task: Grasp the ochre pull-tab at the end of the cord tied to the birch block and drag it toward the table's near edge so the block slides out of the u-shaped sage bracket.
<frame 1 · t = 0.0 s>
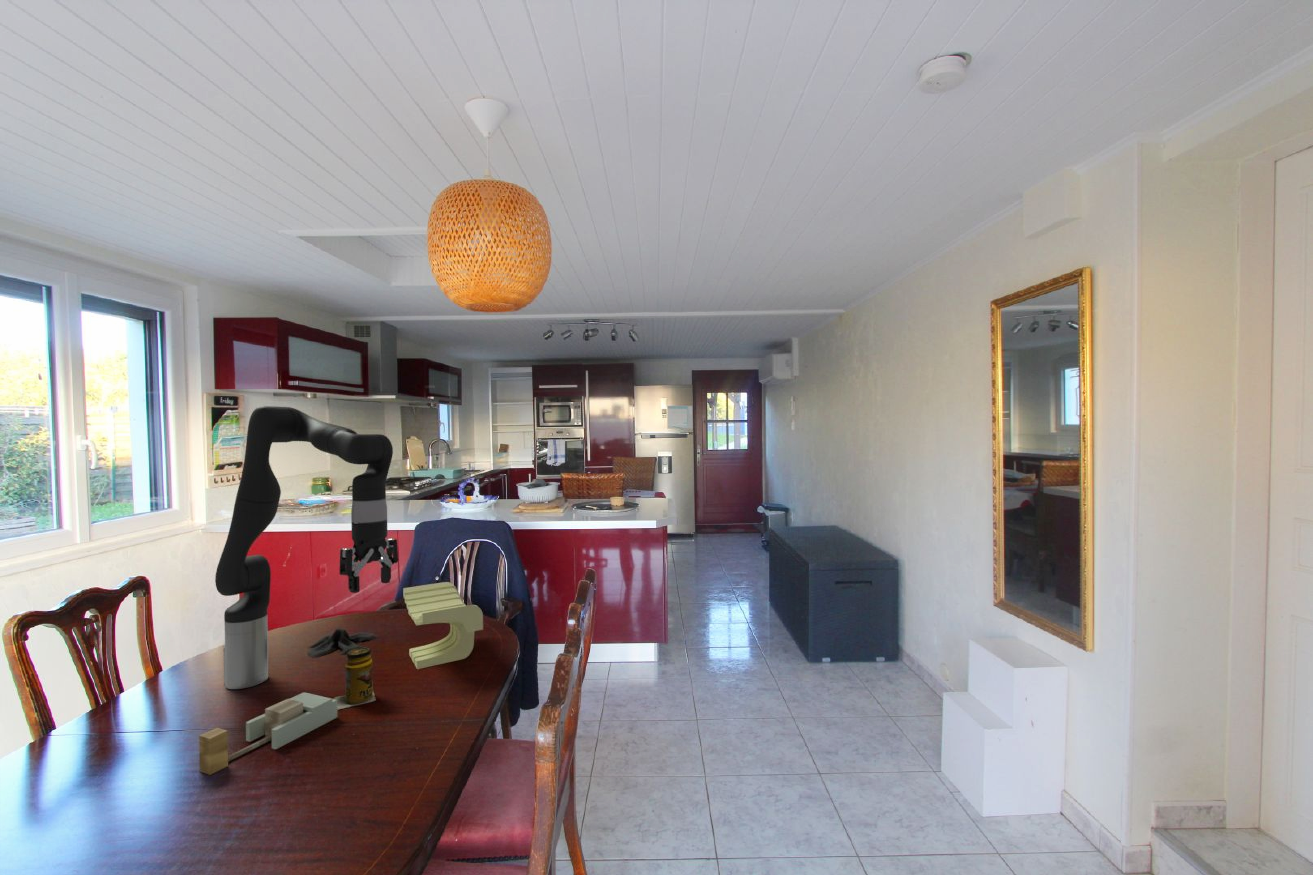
hand: (370, 587, 132), 29 cm above the table, fingers open, 8 cm apart
condiment: (355, 700, 138), on the table
cloth: (336, 648, 174), on the table
u-shaped sage bracket: (288, 730, 123), on the table
tethered block: (284, 732, 122), on the table
slatted curved stool: (441, 655, 165), on the table
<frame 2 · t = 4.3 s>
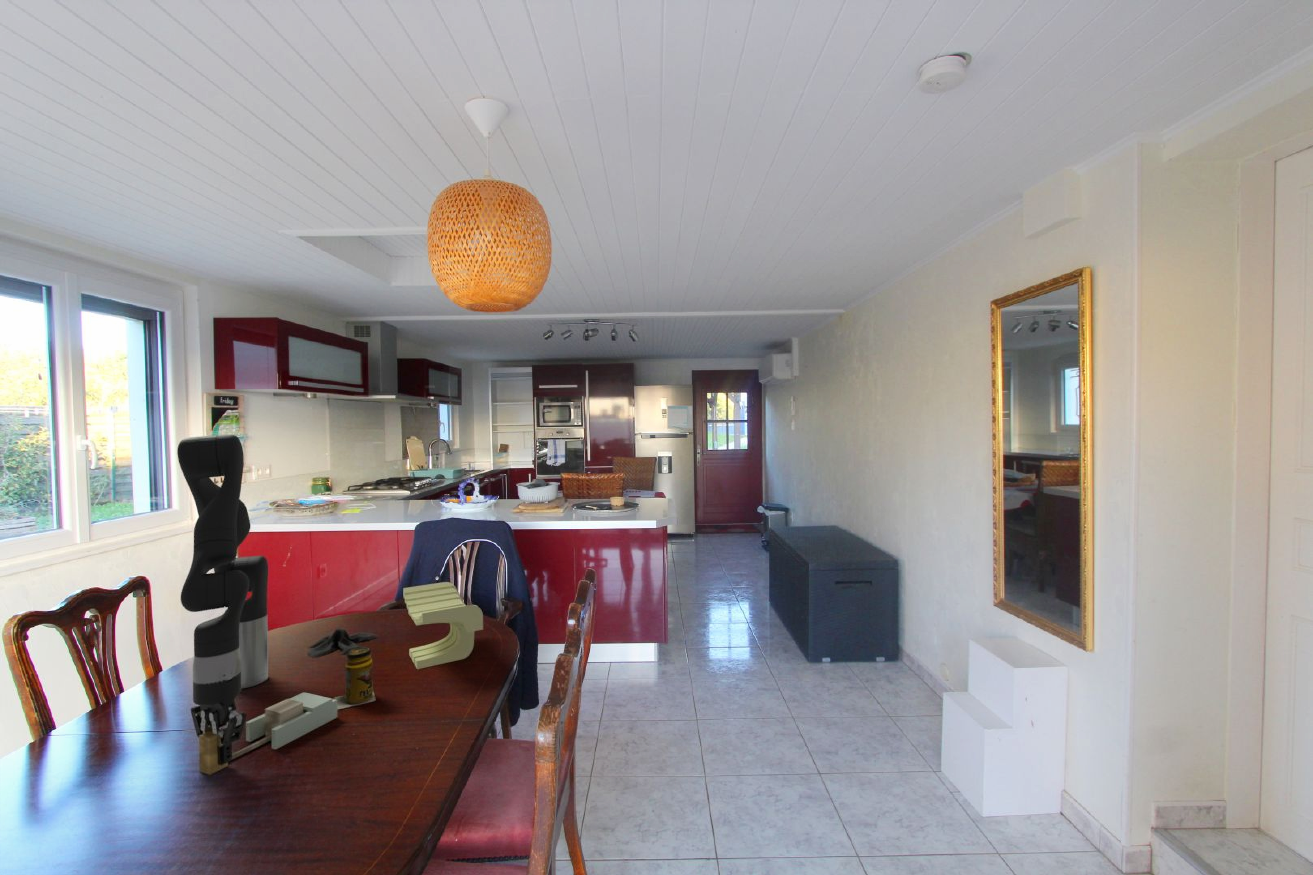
hand: (218, 760, 110), 1 cm above the table, fingers closed on tethered block, 3 cm apart
tethered block: (284, 732, 122), on the table, touching gripper
everything else where it was.
when the fingers open (1 cm above the table, at t = 7.9 s): tethered block stays where it is, on the table.
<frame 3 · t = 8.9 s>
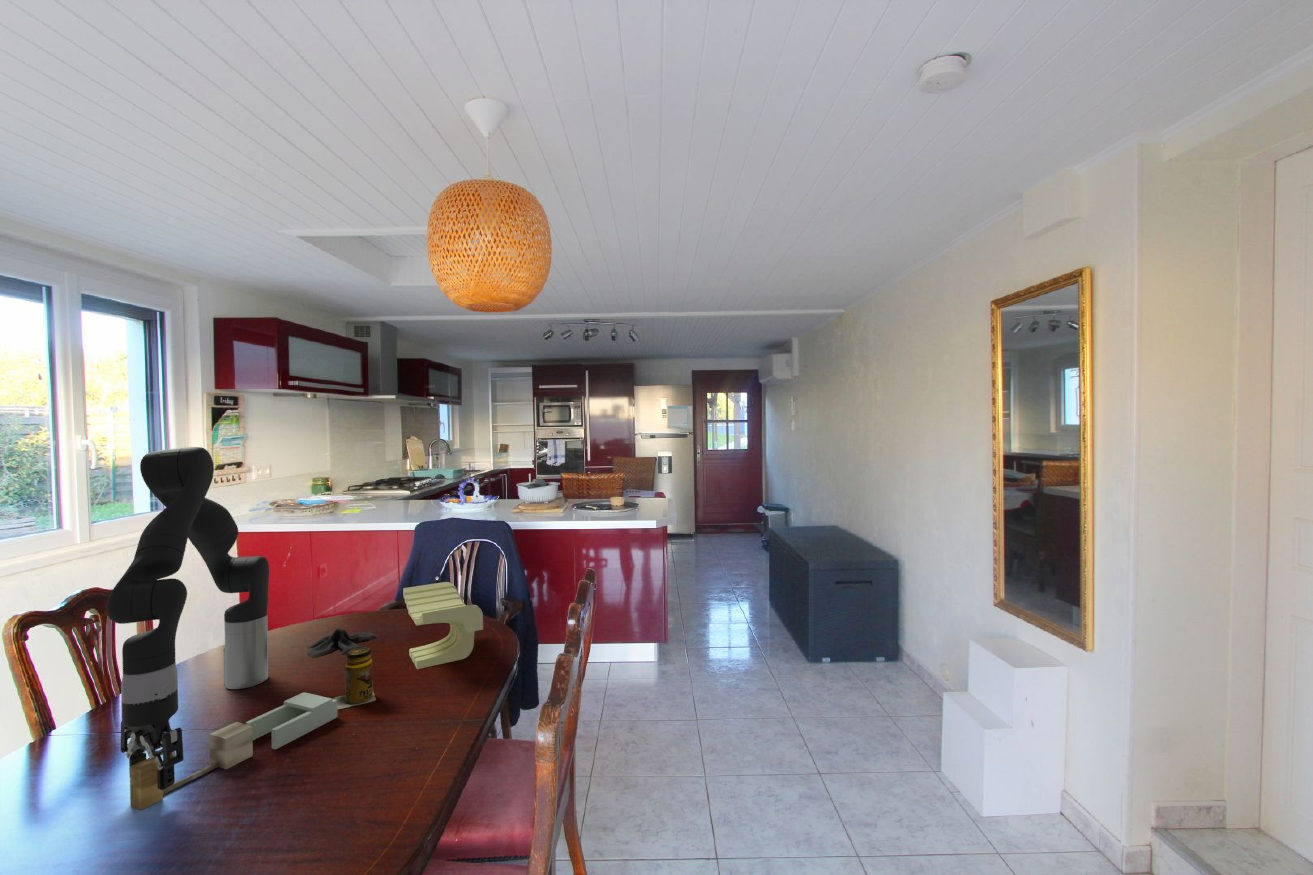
hand: (152, 781, 100), 3 cm above the table, fingers open, 8 cm apart
tethered block: (231, 759, 112), on the table
everything else where it was.
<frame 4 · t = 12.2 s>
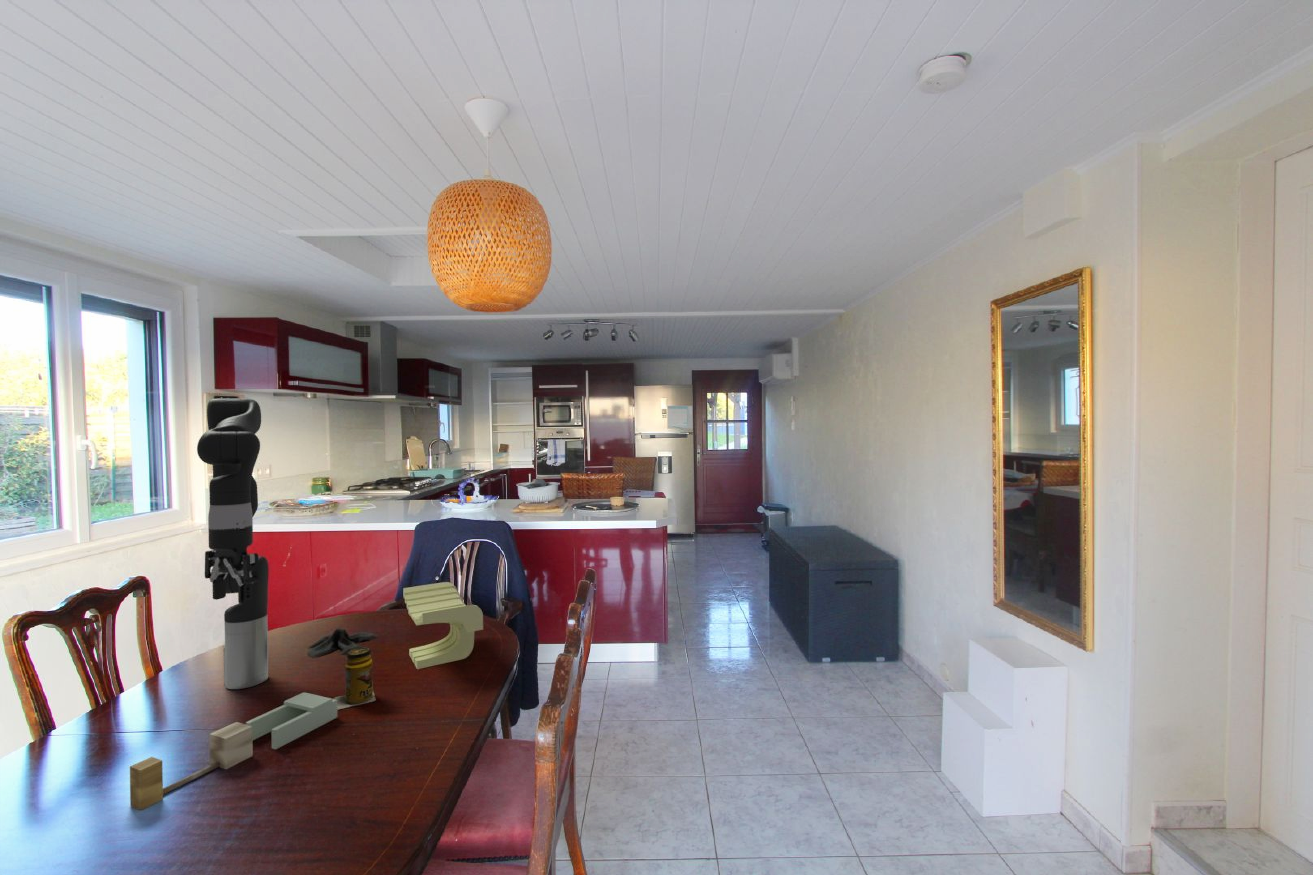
hand: (232, 600, 119), 30 cm above the table, fingers open, 8 cm apart
nothing on the table moved.
at the end: tethered block inside the target area (7.8 cm from its centre), on the table; tethered block tilted 0°; the gripper is holding nothing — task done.
